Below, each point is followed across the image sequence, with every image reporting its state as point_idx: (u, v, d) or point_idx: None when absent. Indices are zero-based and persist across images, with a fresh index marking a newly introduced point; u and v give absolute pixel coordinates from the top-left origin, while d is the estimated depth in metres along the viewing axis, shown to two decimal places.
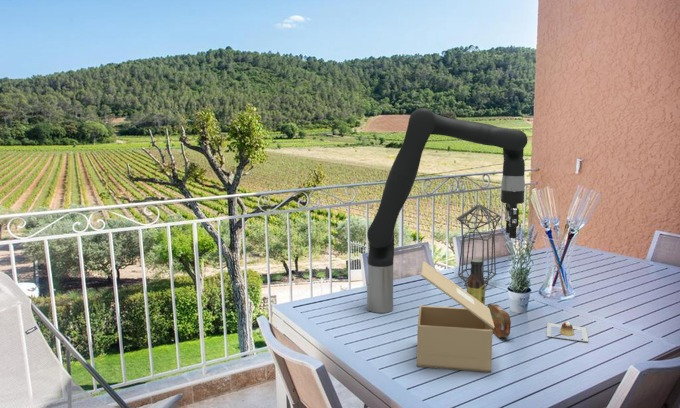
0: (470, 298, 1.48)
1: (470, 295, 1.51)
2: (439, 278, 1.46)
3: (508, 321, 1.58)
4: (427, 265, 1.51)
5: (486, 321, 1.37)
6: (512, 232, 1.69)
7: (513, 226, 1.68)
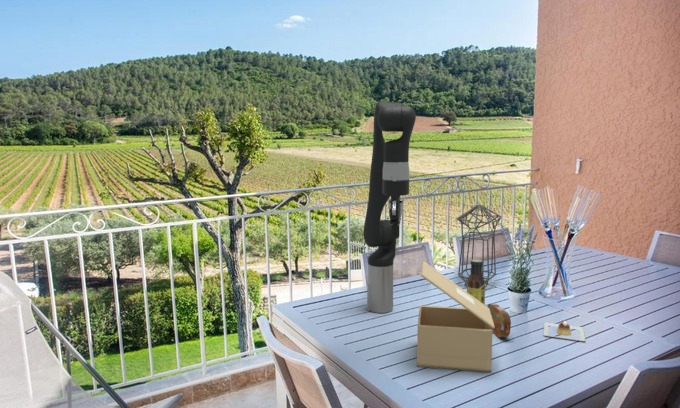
0: (470, 298, 1.48)
1: (470, 295, 1.51)
2: (439, 278, 1.46)
3: (508, 321, 1.58)
4: (427, 265, 1.51)
5: (486, 321, 1.37)
6: (394, 231, 1.44)
7: (394, 224, 1.43)
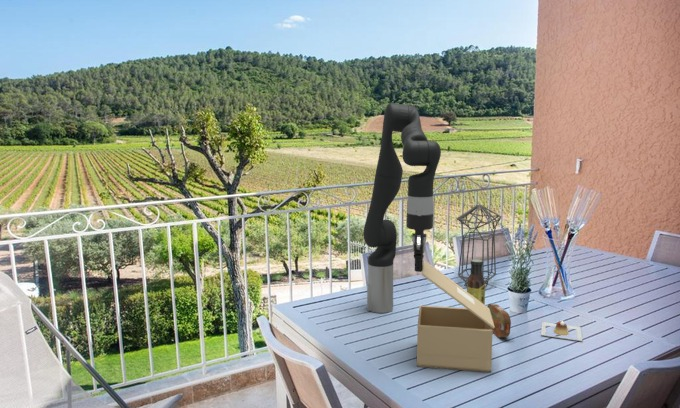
0: (470, 298, 1.47)
1: (470, 295, 1.51)
2: (440, 277, 1.46)
3: (508, 321, 1.58)
4: (428, 264, 1.51)
5: (486, 321, 1.37)
6: (417, 265, 1.44)
7: (417, 258, 1.43)
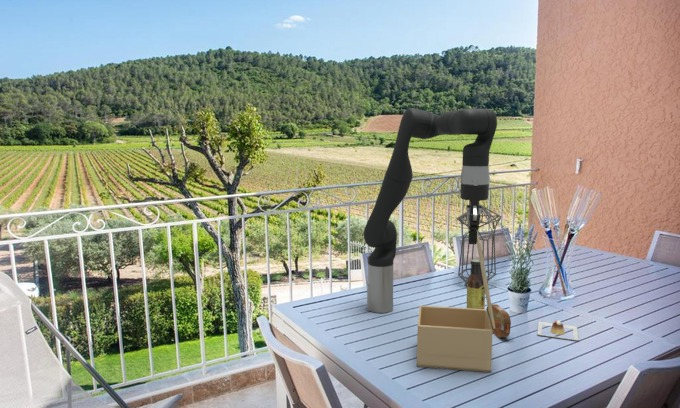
0: None
1: None
2: None
3: (508, 321, 1.58)
4: None
5: (493, 319, 1.36)
6: (472, 237, 1.40)
7: (473, 230, 1.39)
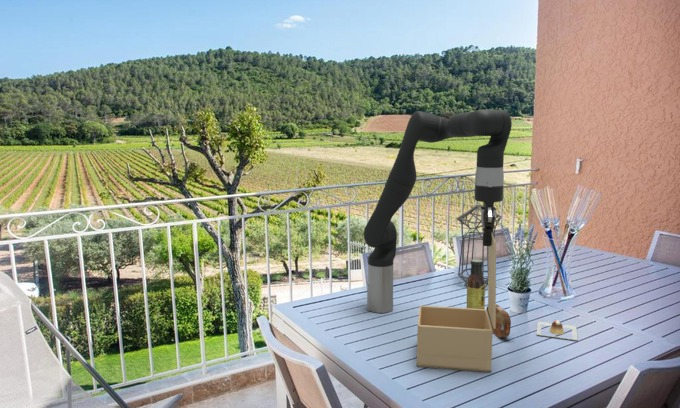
0: None
1: None
2: None
3: (508, 321, 1.58)
4: None
5: (495, 319, 1.36)
6: (486, 239, 1.39)
7: (487, 231, 1.38)
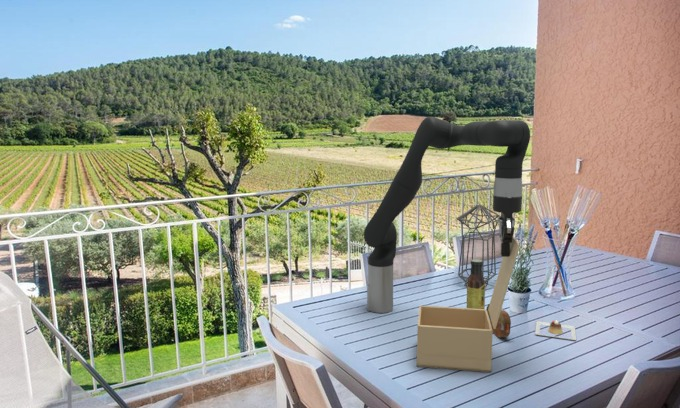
0: None
1: None
2: None
3: (508, 321, 1.58)
4: None
5: None
6: (505, 249, 1.39)
7: (506, 242, 1.38)
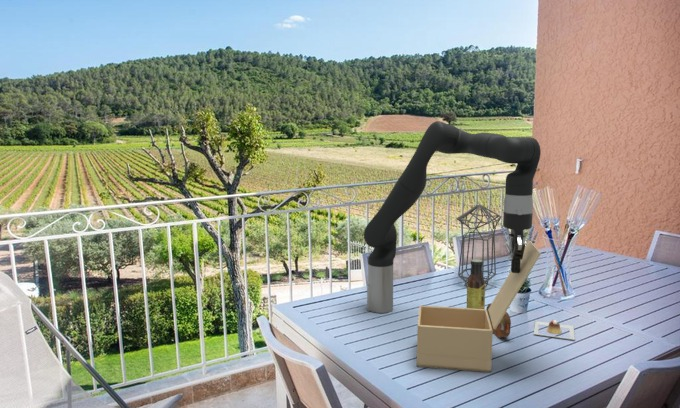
0: None
1: None
2: None
3: (508, 321, 1.58)
4: None
5: None
6: (515, 266, 1.39)
7: (516, 259, 1.38)
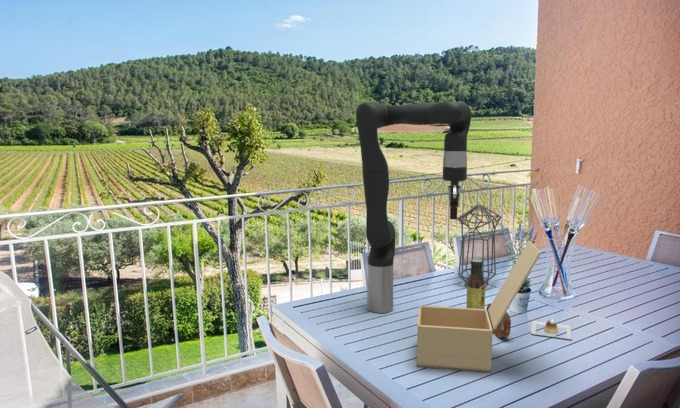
0: None
1: None
2: None
3: (508, 321, 1.58)
4: None
5: None
6: (452, 213, 1.62)
7: (453, 206, 1.61)
